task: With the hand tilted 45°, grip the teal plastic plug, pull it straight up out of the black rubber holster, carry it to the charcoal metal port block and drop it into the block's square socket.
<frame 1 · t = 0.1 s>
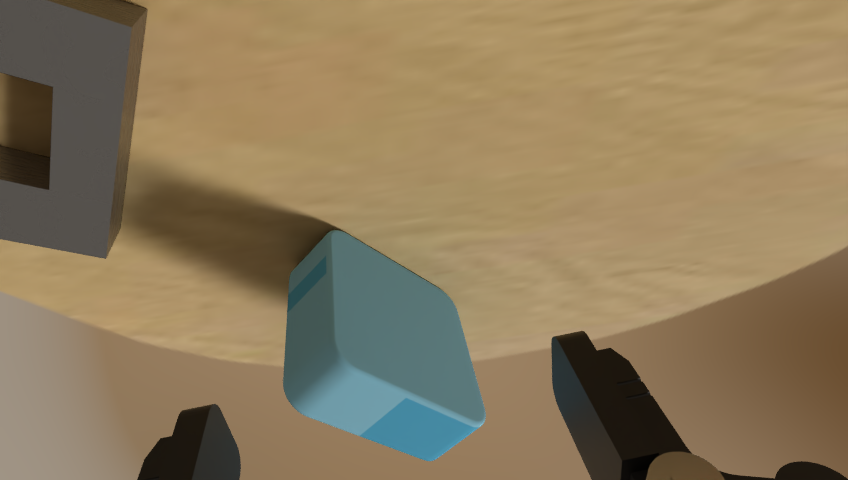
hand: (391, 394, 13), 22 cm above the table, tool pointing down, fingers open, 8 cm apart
data package: (375, 278, 41), on the table
port block: (6, 98, 29), on the table
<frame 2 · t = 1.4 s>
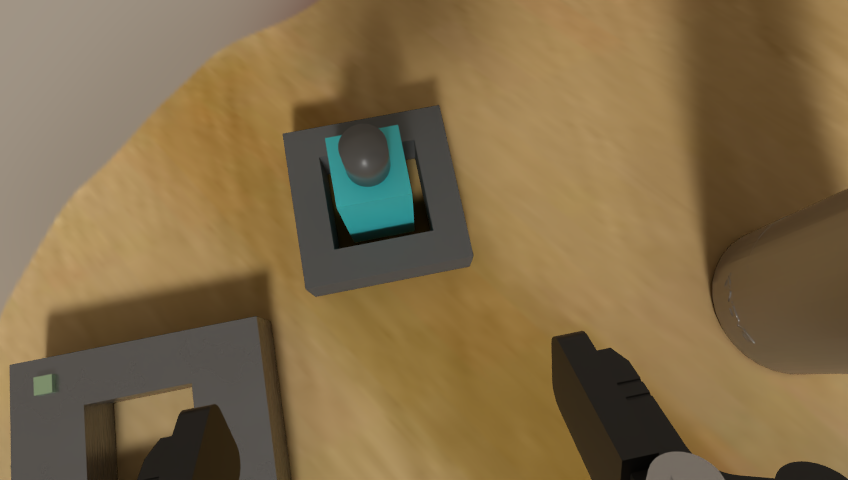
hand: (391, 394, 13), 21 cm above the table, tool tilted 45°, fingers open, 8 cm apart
plug: (372, 181, 32), in the holster
port block: (166, 444, 33), on the table
holster: (379, 208, 37), on the table
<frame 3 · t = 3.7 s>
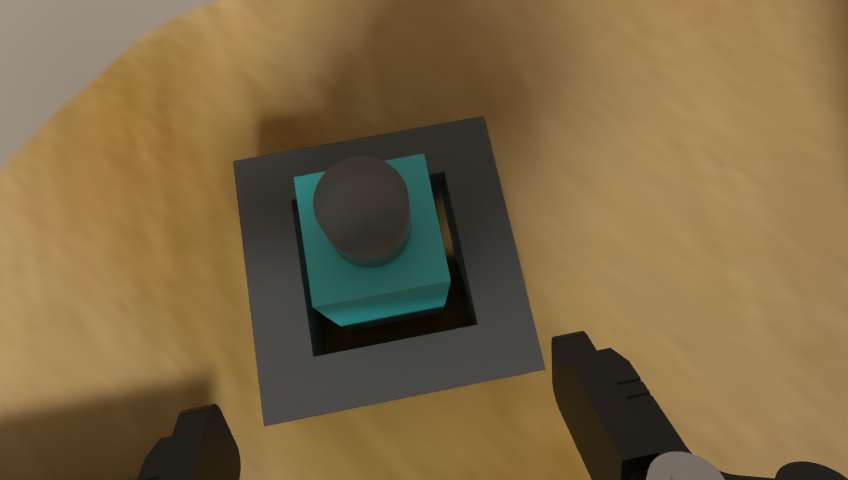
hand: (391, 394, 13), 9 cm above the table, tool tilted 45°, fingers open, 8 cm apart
plug: (377, 247, 19), in the holster
holster: (387, 275, 24), on the table
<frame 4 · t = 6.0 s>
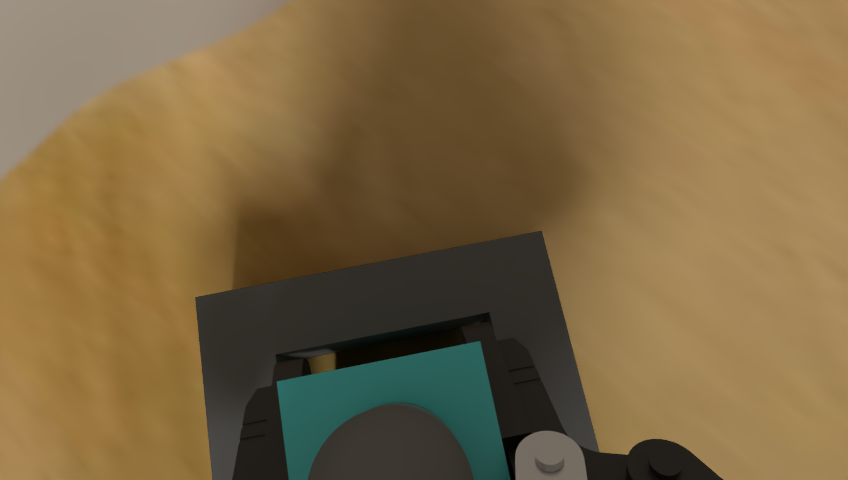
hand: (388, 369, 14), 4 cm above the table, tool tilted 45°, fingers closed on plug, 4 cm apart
plug: (402, 453, 13), in the holster, touching gripper
holster: (406, 436, 17), on the table
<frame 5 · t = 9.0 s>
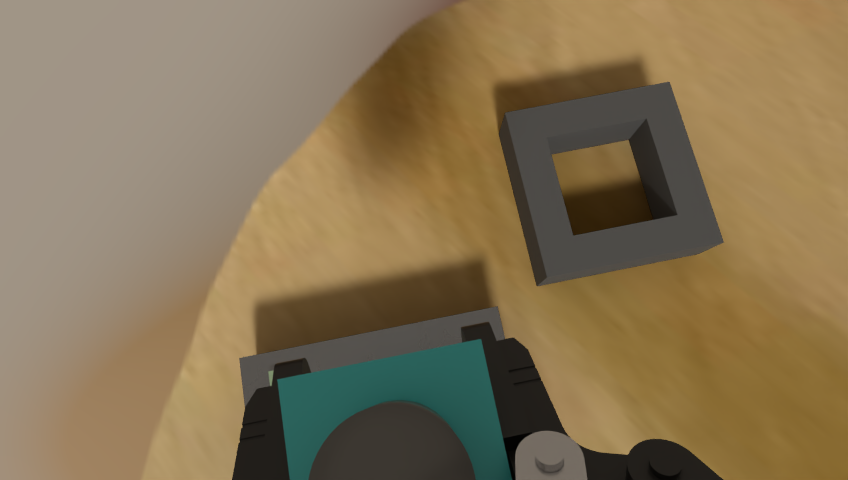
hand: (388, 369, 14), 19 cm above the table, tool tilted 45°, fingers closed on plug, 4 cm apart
plug: (403, 452, 13), point 20 cm above the table, touching gripper
port block: (393, 442, 31), on the table
holster: (595, 192, 35), on the table
when the fingers open (6 cm above the table, at t = 12.0 s): plug drops 1 cm, resting in port block.
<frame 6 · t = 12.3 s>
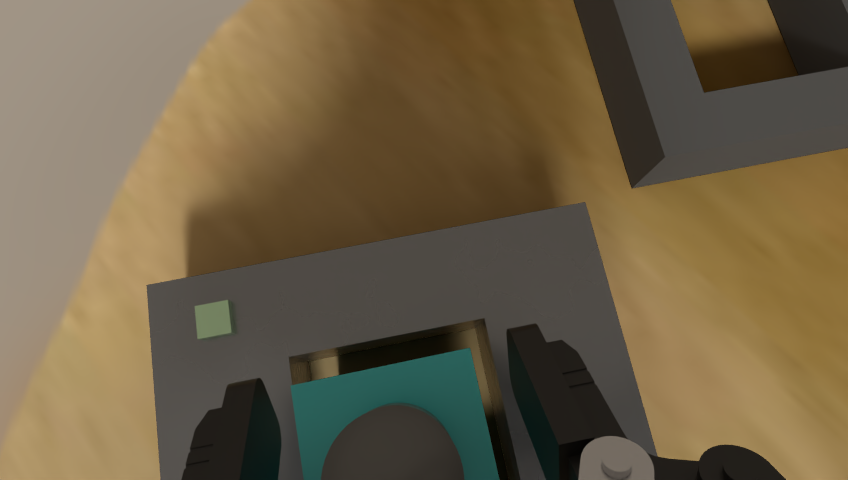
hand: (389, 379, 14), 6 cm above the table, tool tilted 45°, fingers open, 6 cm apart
plug: (402, 448, 14), in the port block
port block: (408, 432, 19), on the table
holster: (714, 52, 23), on the table
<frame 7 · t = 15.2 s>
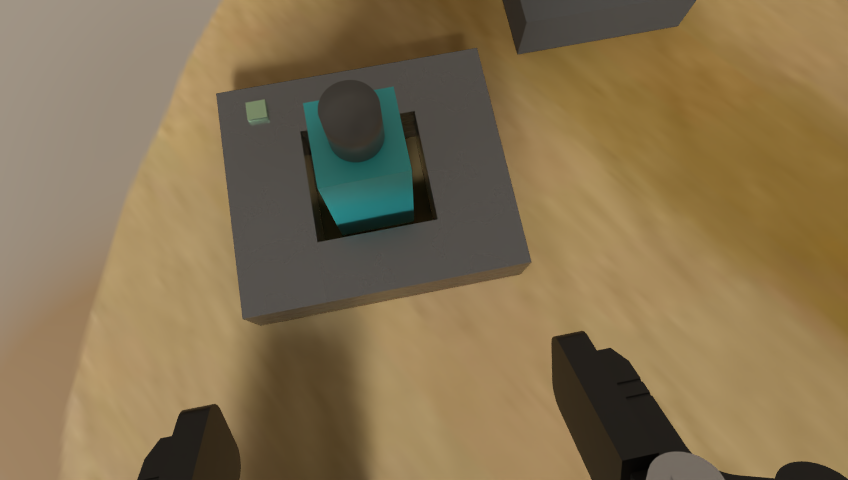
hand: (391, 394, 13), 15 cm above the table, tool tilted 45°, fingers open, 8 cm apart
plug: (362, 159, 26), in the port block
port block: (372, 194, 31), on the table
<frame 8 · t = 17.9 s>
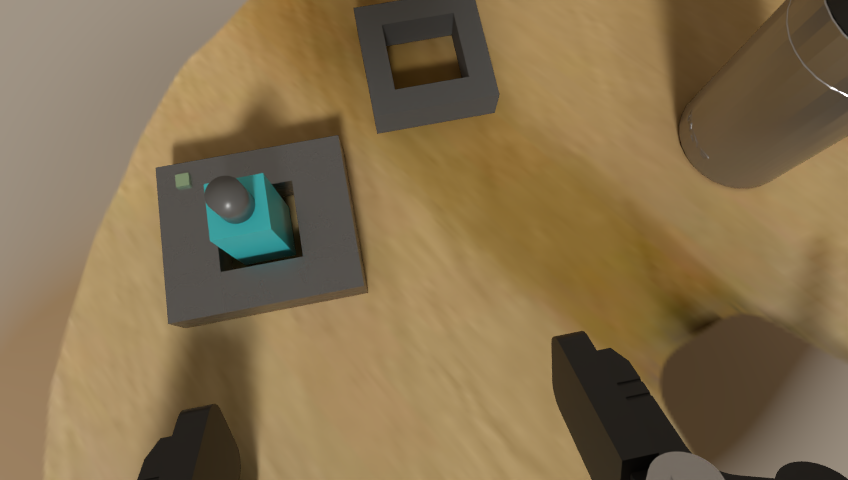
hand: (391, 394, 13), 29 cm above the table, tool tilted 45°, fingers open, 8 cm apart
plug: (248, 217, 39), in the port block
port block: (267, 235, 44), on the table
holster: (424, 70, 48), on the table
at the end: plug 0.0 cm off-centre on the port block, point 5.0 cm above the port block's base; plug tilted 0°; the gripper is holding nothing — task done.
